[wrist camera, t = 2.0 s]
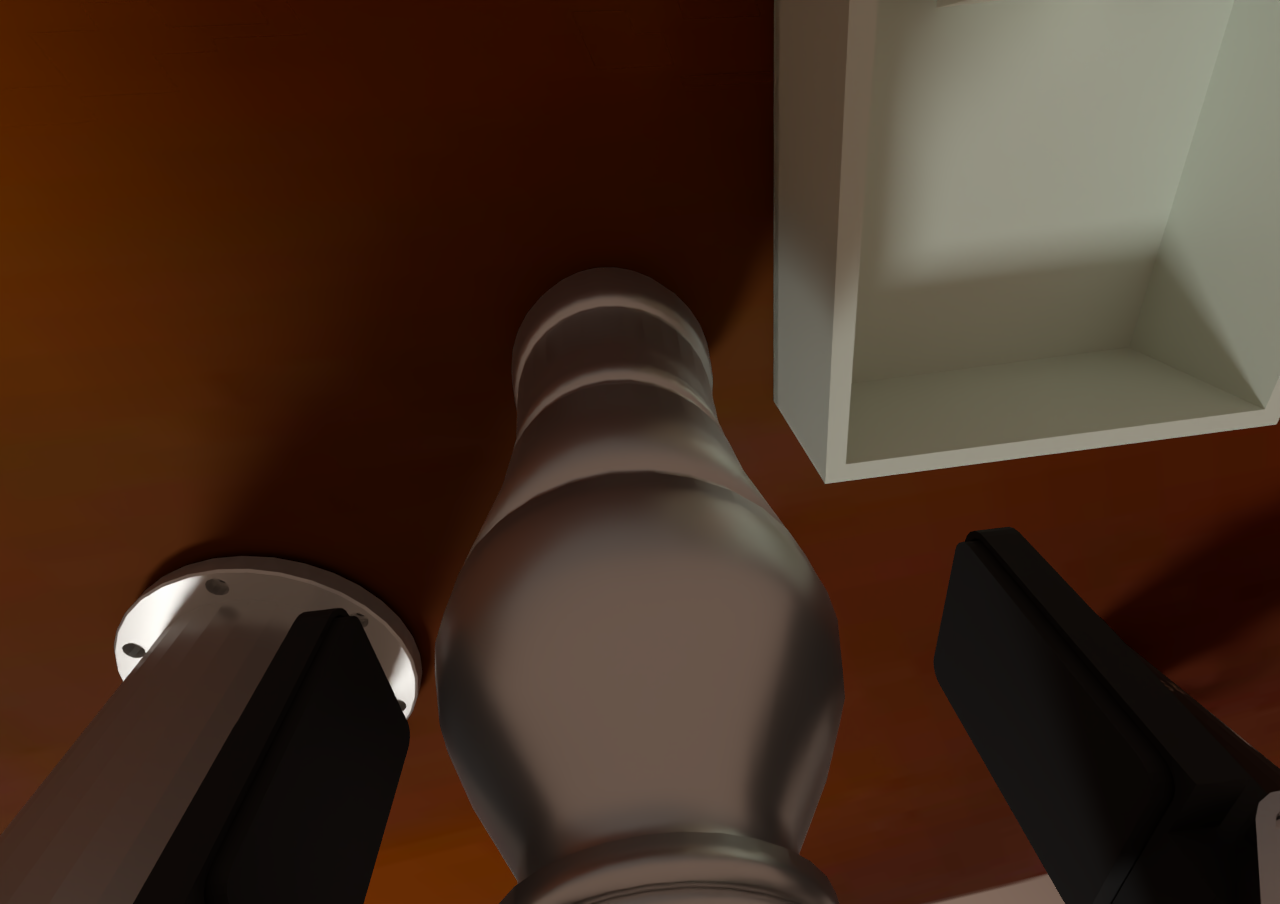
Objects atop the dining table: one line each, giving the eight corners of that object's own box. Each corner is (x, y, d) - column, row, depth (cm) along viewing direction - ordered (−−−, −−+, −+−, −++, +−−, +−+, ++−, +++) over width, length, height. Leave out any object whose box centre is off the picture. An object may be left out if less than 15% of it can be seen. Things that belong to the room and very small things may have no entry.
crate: (1128, 354, 24) (1276, 424, 19) (773, 400, 24) (825, 483, 19) (1376, -463, 14) (1832, -788, 9) (774, -394, 14) (884, -683, 9)
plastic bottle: (668, 224, 21) (1107, 898, 3) (718, 399, 24) (1066, 1197, 7) (488, 288, 21) (31, 1152, 4) (561, 450, 24) (497, 1305, 7)
